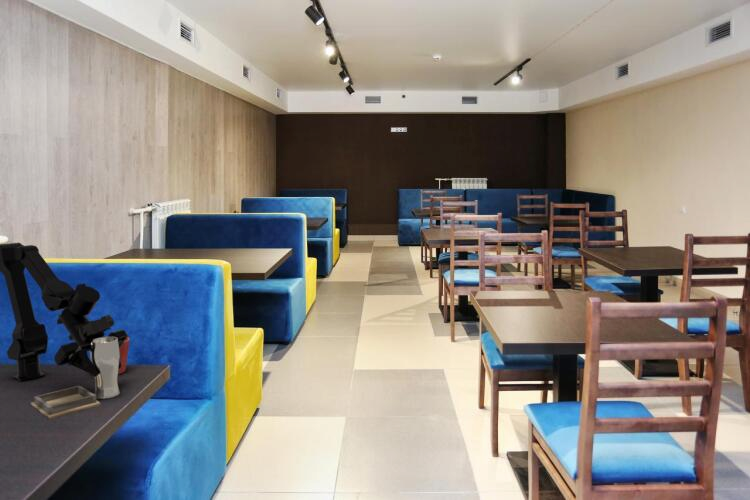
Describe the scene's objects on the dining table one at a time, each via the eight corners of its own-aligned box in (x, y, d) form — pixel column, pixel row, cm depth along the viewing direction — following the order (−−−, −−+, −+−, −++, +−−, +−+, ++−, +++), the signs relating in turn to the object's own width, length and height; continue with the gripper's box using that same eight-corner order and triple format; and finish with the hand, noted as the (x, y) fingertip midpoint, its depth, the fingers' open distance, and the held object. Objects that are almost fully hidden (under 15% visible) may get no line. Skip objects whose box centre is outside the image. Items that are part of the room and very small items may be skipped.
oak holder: (30, 404, 153) (29, 395, 152) (79, 392, 161) (79, 383, 161) (49, 418, 143) (48, 409, 143) (100, 404, 151) (100, 396, 151)
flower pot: (102, 366, 183) (100, 335, 182) (137, 366, 183) (135, 335, 182) (84, 377, 173) (81, 345, 172) (121, 377, 172) (119, 344, 171)
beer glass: (110, 400, 154) (107, 343, 153) (86, 398, 156) (83, 342, 154) (126, 391, 161) (124, 336, 159) (103, 389, 162) (101, 335, 161)
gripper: (57, 314, 150) (89, 363, 145) (121, 300, 166) (151, 344, 162) (41, 341, 154) (71, 389, 150) (104, 325, 170) (133, 368, 166)
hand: (108, 371), depth 157 cm, fingers closed on beer glass, 6 cm apart
